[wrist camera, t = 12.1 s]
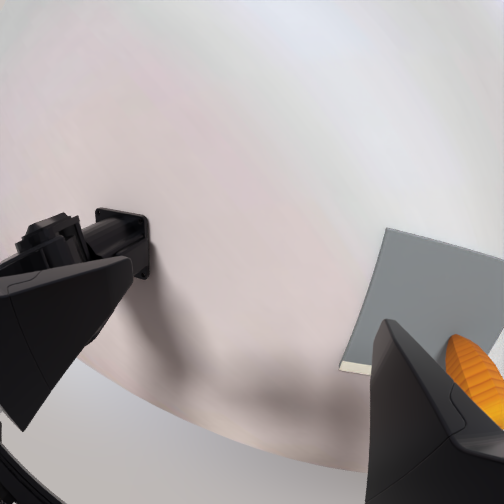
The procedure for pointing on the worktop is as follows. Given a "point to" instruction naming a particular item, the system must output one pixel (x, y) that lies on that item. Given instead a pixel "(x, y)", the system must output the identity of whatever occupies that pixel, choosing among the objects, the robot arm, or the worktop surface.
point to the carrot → (476, 376)
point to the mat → (429, 297)
